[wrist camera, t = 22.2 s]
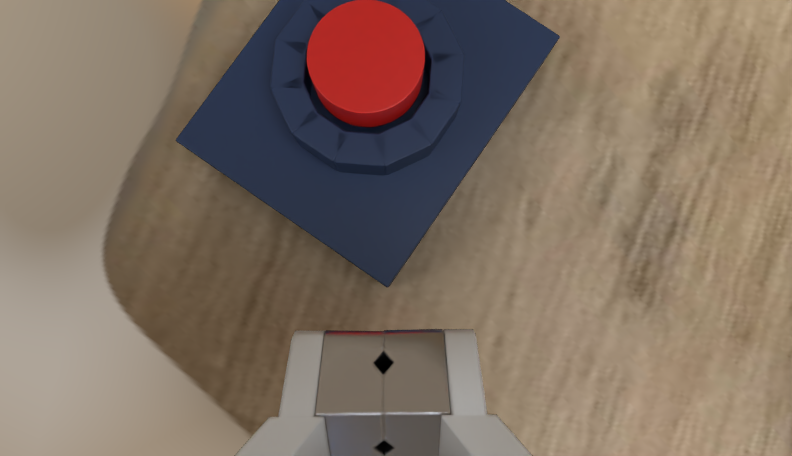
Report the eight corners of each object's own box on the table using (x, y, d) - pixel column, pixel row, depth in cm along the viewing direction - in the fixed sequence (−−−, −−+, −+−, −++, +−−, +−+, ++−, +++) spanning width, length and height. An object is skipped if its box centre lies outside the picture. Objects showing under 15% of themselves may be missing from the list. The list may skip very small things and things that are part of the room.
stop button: (381, 148, 21) (380, 136, 20) (291, 87, 22) (282, 70, 20) (443, 60, 22) (448, 41, 20) (354, 1, 22) (351, -24, 20)
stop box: (388, 287, 26) (387, 287, 21) (201, 158, 26) (156, 127, 21) (540, 66, 27) (574, 15, 22) (357, -55, 27) (349, -132, 22)
